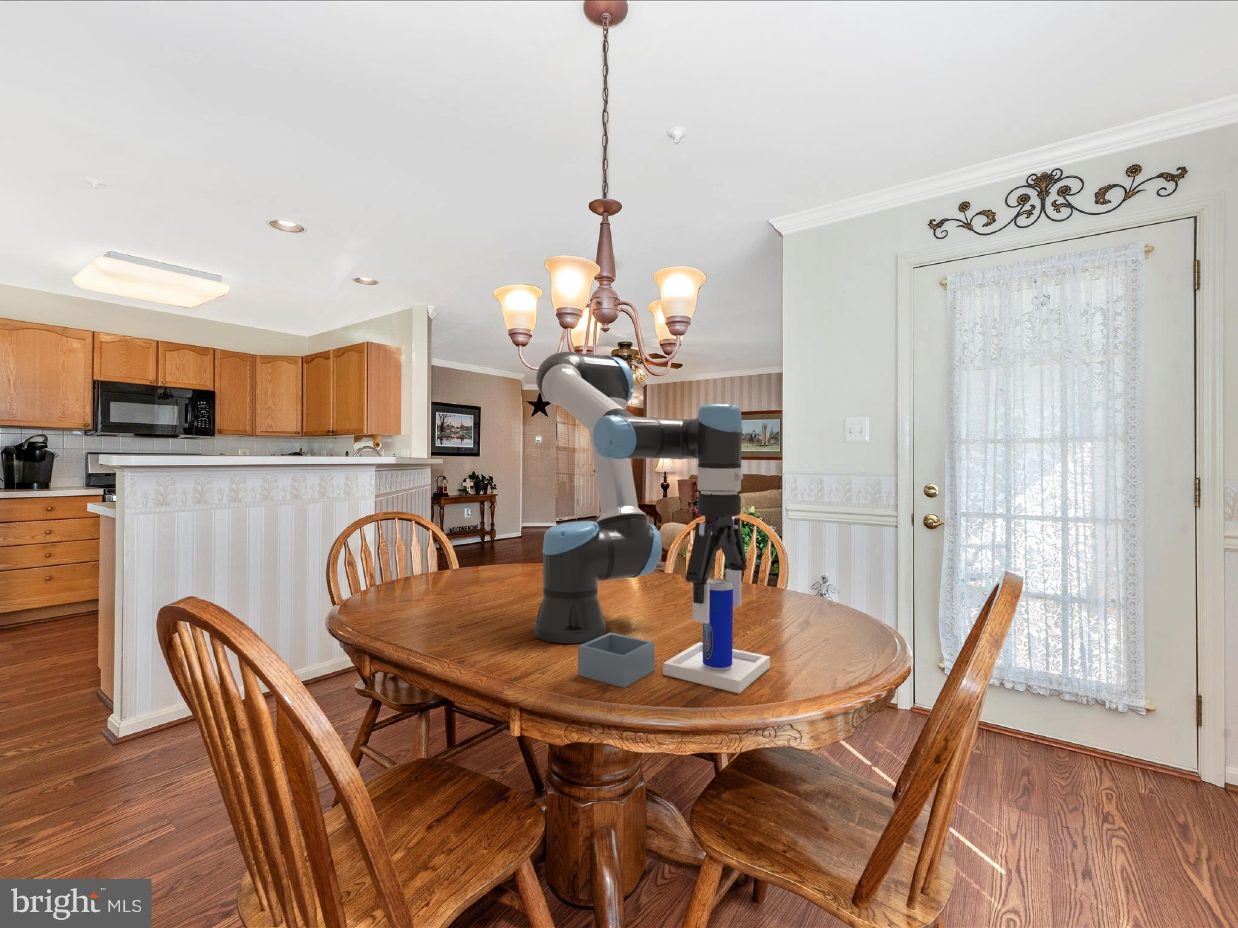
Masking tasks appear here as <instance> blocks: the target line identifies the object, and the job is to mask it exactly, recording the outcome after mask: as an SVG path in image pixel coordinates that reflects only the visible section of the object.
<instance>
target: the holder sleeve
mask: <svg viewBox="0 0 1238 928" xmlns="http://www.w3.org/2000/svg"><path fill="white" fill-rule="evenodd" d="M655 645H656V642H655V641H650V640H646V639H642V638H638V637H633V636H629V635H624V634H619V633H615V632H608V633H605V635H603V636H601V637H599V638H596V639H594V640H592V641H589V642H584V643H581V644H580V645H577V648H578V649H577V676H579V677H583V678H587V679H590V680H594V681H598V682H601V683H605V684H609V685H612V686H615V687H619V688H623V689H625V688H627V687H629V686H630V685H632V684H634V683H636V682H637V681H639V680H641V679H642V678H644V677H646V676H647V675H649V674H651V673H652V672H654V671H655V664H656V662H655V656H656V655H655V654H656V653H655V651H656V650H655V649H656V646H655Z"/></svg>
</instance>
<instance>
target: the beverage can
mask: <svg viewBox="0 0 1238 928" xmlns="http://www.w3.org/2000/svg"><path fill="white" fill-rule="evenodd" d="M707 583H709V584H710V596H709V623H708V624H706V623H702V643H703V664H704V665H705V667H706V668H708V669H710V670H715V671H724V670H728V669H729V668H730V667H731V666H732V649H733V641H734V639H733V637H734V636H733V634H734V633H733V631H734V630H733V624H734V620H733V619H734V606H733V586H732V582H731V581H729V580H726V579H724V578H723V579H722V578H710V579H709V578H708V580H707Z"/></svg>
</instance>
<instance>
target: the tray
mask: <svg viewBox="0 0 1238 928" xmlns="http://www.w3.org/2000/svg"><path fill="white" fill-rule="evenodd" d="M662 664H663V665H662V670H663V671H662V674H663V675H664V676H667V677H672V678H676V679H678V680H679V679H680V680H683V681H688V682H691V683H692V682H693V683H696V684H700V685H704V686H708V687H712V688H716V689H720V690H725V691H727V692H731V693H736V694H738V695H739V694H741V693H742V692H743V691H744V690H746V689H747V688H748V687H750V685H751V684H753V683H754V682H755V681H756V680H757V679H758V678H759V677H761V676H762V675H763V674H765V672H766V671H768V670H769V669H770V668H771V656H769V655H766V654H761V653H754V652H749V651H745V650H739V649H734V648H732V666H731V667H730V668H729V669H728V670H724V671H715V670H710V669H708V668H706V667H705V665H704V664H703V641H702V642H701V641H699V642H697V643H695V644H693V645H692V646H690V647H688V648H687V649H685V650H683V651H681V652H679V653H677V654H676V655H675V656H673V657H671V658H669V659H668V660H666V661H664V662H662Z"/></svg>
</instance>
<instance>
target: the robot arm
mask: <svg viewBox="0 0 1238 928" xmlns="http://www.w3.org/2000/svg"><path fill="white" fill-rule="evenodd" d="M535 378H536V379H535V380H536V381H535V382H536V383H535V384H536V387H537V390H538V391H539V393H540V395H541V396H542V397H543V398H544V399H545V400H546V401H547V402H549V403H550V404H552V405H555V406H560V407H561V408H563V409H564V410H565V411H566V412H567V413H568V414H570V415H571V416H572V417H573V418H574V419H575V420H576V421H577V422H579V423H580V424H581V425H583V426H584V427H585V429H587V430H588V433H589V438H590V439H589V440H590V445H591V446H590V447H591V451H592V458H593V459H592V460H593V464H594V465H593V466H594V472H595V474H594V475H595V478H596V486H597V492H598V499H599V506H600V515H599V516H598V518H597V520H596V521H592V520H581V521H570V522H563V523H559V524H556V525H555V524H554V525H553V526H551V527H549V528H548V529H547V530H546V531H545V532H544V535H543V545H542V546H543V547H542V550H541V551H542V568H543V569H542V575H543V576H542V577H543V578H542V600H541V603H540V605H539V608H538V612H537V615H536V619H535V621H534V628H533V629H534V636H535V638H537V639H539V640H542V641H545V642H550V643H556V644H557V643H558V644H583V643H587V642H589V641H592V640H594V639H596V638H599V637H601V636H603V635H606V628H607V627H606V626H607V625H606V620H605V618H604V614H603V610H602V606H601V604H600V603H601V602H600V600H599V596H598V586H599V585H598V582H601V581H611V580H619V579H629V578H631V579H635V578H638V577H643V576H648V575H650V574H651V573H652V572H653V571H654V570H656V568H657V566H658V564H659V562H660V559H661V556H662V547H663V546H662V545H663V544H662V543H663V542H662V537H661V533H660V531H659V530H658V528H657V527H656V526H655V525H654V524H651V523H648V518H647V513H645V512H644V511H642V510H641V509H640V508H639V504H638V499H637V491H636V487H635V485H636V484H635V482H634V481H635V479H634V474H633V468H632V463H631V459H663V460H664V459H665V460H668V459H669V460H670V459H671V460H686V459H687V460H689V459H697V461H698V462H697V490H698V491H700V493H699V494H698V495H697V513H698V515H700V516H704V517H705V518H704V522H695V526H694V527H695V528H694V538H693V541H692V547H691V552H690V554H689V555H690V556H689V560H688V565H687V568H686V569H687V570H686V574H685V580H686V582H687V583H692V622H697V623H700V624H703V623H706V624H708V623H709V596H710V584H709V583H707V580H708V579H709V577H710V573H711V570H712V567H713V564H714V561H715V558H716V555H717V553H718V552H719V551H720V550H721V551H722V553H723V556H724V558H725V562H726V564H727V567H728V568H727V569H725V580H729V581H731V582H732V586H733V607H742V571H746V570H747V569H748V566H747V565H748V564H747V555H746V550H745V545H744V539H743V535H742V529H741V518H740V517H738V516H740V515H741V513H742V512H741V511H742V509H741V508H742V496H741V495H740V494H738V492H740V491H741V490H742V489H741V487H742V484H741V483H742V482H741V481H742V480H744V475H743V474H742V465H741V464H742V444H743V443H742V439H743V438H742V436H743V435H742V434H743V423H742V411H741V408H740V407H739V406H738V405H735V404H729V403H728V404H727V403H726V404H725V403H713V404H711V403H710V404H704V405H701V406H700V407H699V408H698V414H697V418H681V419H680V418H668V417H667V418H664V417H649V416H648V417H646V416H636V415H634V414H633V413H632V412H630V411H628V410H626V409H627V407H628V402H629V401H630V400H631V398H632V396H633V393H634V390H633V388H634V387H635V386H634V385H635V384H634V375H633V373H632V370H631V368H630V365H628V363H627V362H626V361H625V360H624V359H622V358H620V357H615V356H611V355H605V354H604V355H598V354H590V353H582V352H573V351H560V352H556V353H554V354H551V355H549V356H548V357H547V358H546V359H545V360H543V361H542V362H541V364H540V365H539V367H538V369H537V372H536V377H535Z"/></svg>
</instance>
